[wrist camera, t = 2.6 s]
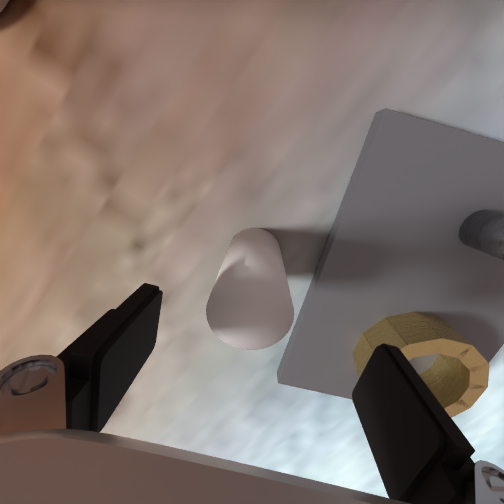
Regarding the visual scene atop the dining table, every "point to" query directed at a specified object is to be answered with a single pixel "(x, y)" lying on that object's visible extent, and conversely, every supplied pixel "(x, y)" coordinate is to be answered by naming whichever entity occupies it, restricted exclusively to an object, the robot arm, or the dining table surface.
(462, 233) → the small stub
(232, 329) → the white rounded peg
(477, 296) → the fitting board
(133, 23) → the dining table surface
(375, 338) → the brass socket
